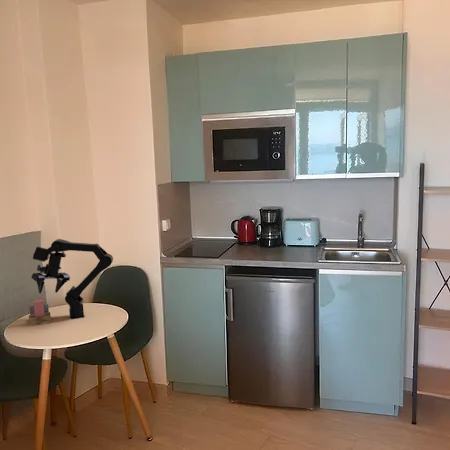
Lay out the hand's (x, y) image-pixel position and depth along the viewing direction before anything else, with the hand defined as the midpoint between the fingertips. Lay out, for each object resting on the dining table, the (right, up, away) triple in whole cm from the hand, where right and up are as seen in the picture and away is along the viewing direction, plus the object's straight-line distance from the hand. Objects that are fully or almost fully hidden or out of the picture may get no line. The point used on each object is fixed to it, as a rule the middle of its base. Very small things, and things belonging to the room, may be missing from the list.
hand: (47, 292), depth 239 cm
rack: (-3, -14, -1) cm, 15 cm away
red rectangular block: (-3, -13, -4) cm, 14 cm away
